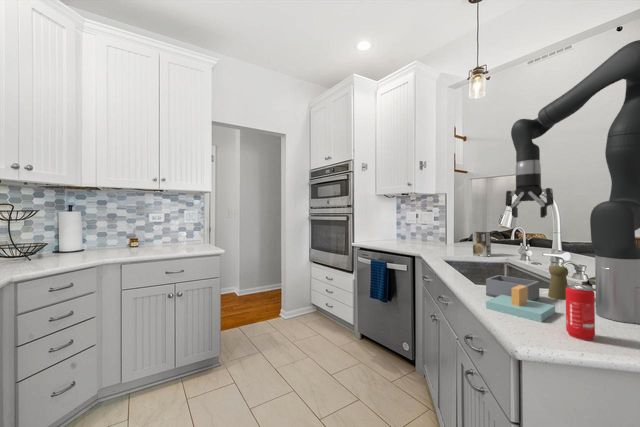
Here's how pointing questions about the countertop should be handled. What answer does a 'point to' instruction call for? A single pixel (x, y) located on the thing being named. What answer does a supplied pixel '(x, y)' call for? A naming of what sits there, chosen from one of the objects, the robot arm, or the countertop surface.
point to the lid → (521, 305)
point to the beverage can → (580, 312)
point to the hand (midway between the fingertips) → (528, 217)
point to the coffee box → (481, 243)
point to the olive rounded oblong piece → (558, 282)
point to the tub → (511, 286)
